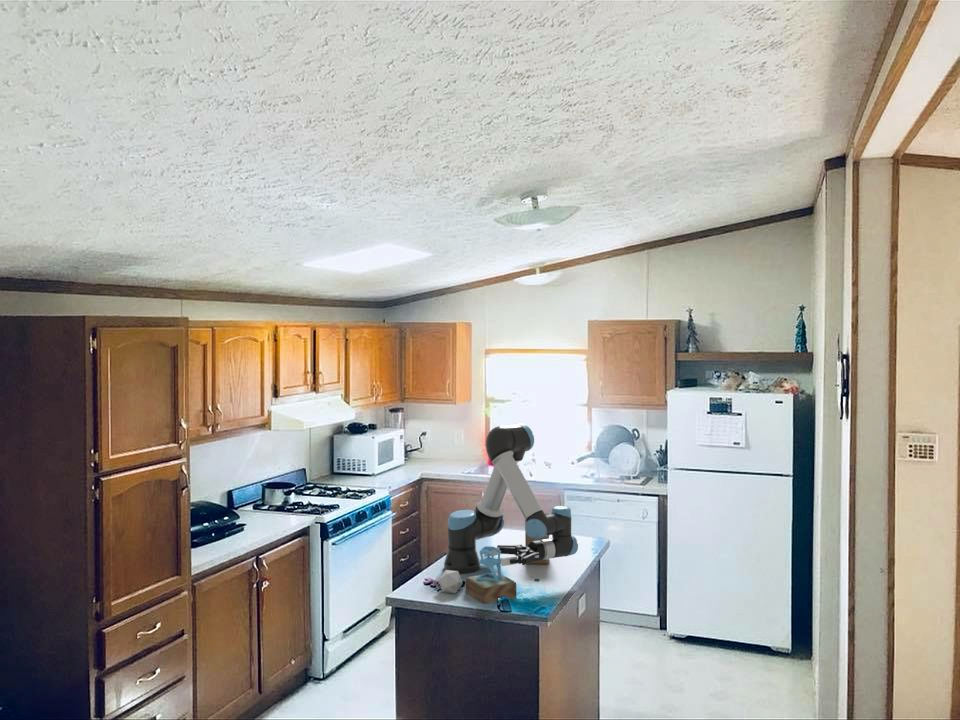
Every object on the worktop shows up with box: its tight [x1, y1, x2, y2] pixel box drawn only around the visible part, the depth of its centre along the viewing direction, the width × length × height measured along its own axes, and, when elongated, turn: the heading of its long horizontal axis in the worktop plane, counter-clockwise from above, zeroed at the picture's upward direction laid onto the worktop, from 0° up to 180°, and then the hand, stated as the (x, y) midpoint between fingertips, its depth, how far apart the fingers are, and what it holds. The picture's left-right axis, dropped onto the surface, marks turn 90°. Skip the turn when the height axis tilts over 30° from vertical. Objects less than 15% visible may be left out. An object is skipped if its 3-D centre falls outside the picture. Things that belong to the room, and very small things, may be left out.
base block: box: [465, 571, 517, 605], centre depth 287 cm, size 14×14×6 cm
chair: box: [476, 546, 503, 582], centre depth 287 cm, size 8×8×12 cm
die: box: [437, 569, 464, 594], centre depth 292 cm, size 8×9×10 cm
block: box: [524, 512, 550, 565], centre depth 330 cm, size 10×10×20 cm
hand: (492, 557), depth 287 cm, fingers open, 13 cm apart
